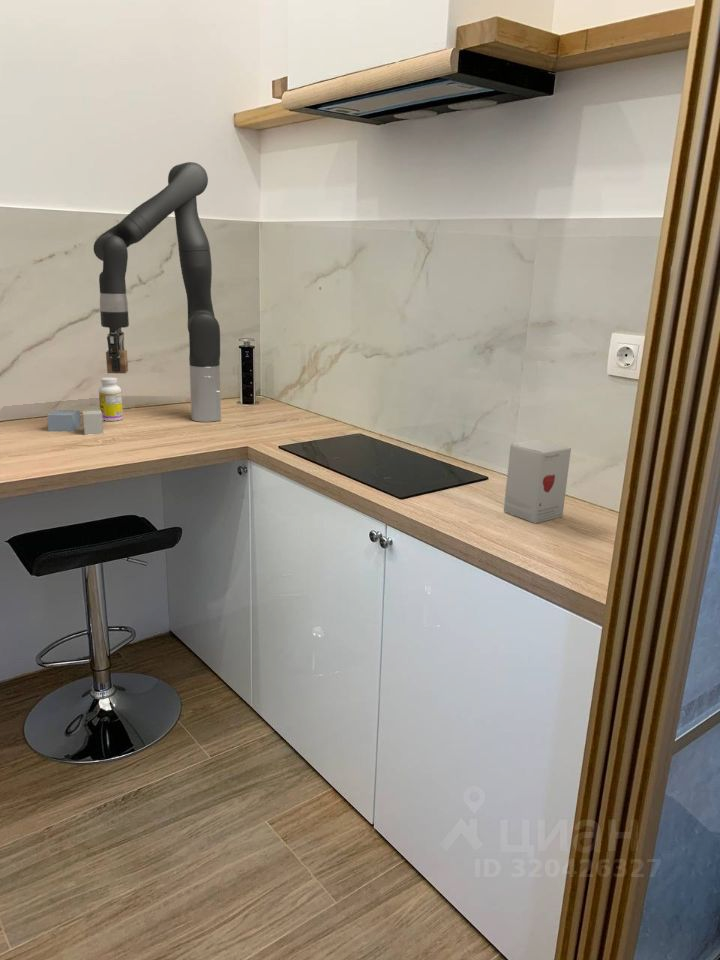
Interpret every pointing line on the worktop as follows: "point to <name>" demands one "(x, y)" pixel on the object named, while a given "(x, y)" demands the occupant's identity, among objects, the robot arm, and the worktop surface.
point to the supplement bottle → (110, 400)
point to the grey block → (92, 422)
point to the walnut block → (122, 362)
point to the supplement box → (537, 480)
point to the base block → (64, 420)
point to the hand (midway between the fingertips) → (117, 369)
